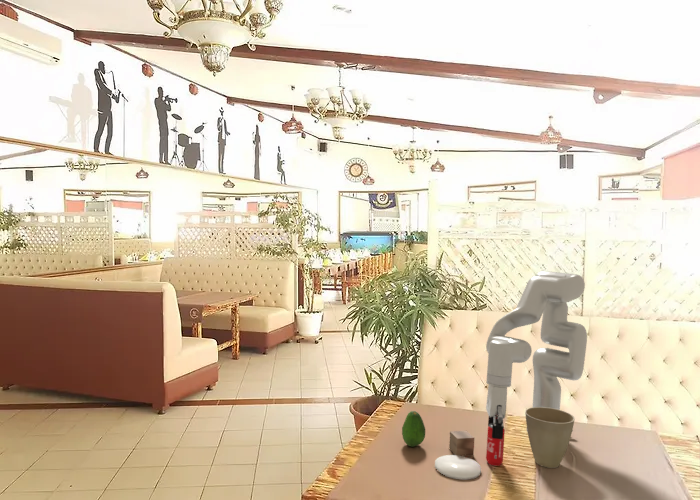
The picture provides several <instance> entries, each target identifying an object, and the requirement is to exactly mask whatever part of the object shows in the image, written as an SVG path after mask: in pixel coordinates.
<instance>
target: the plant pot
mask: <svg viewBox="0 0 700 500" xmlns="http://www.w3.org/2000/svg"><path fill="white" fill-rule="evenodd" d="M532 407H533V406H532ZM532 407H529V408H526V409H525V411H524V413H525V414H524V415H525V423H526V432H527V431H528V432H527V435H528V440H529V445H530V449H531V453H532V455H533V459H534V461H535V463H536V465H539V466H541V467H544V468H547V469H555V468H559V466H560V465H561V464H562V461H563V459H564V457H565V454H566V451H567V449H568V446H569V444H570V440H571V437H572V434H573V431H574V430H573V429H574V424H575V419H576V418H575V416H574V415H573V414H571V413H569V412H567V411H565V410H561V409H560V410H558V409H554V408H547V407H533V408H532ZM572 430H573V431H572Z"/></svg>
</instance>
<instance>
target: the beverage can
mask: <svg viewBox="0 0 700 500" xmlns="http://www.w3.org/2000/svg"><path fill="white" fill-rule="evenodd" d="M493 425H494V423H492V424H489V427H488V426H487V437H486V453H485V454H486V455H485V459H486V462H487V464H489V465H490V466H495V467H500V466H501V465H502V463H503V462H504V448H505V430H506V429H505V427H504V425H503V439H494V438H492V427H493Z"/></svg>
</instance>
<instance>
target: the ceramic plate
mask: <svg viewBox="0 0 700 500" xmlns="http://www.w3.org/2000/svg"><path fill="white" fill-rule="evenodd" d="M434 468H436V469H437V470H438V471H439V472H440V473H441V474H440V473H439V472H438V471H437V470H436V469H435V470H436V471H437V472H438V473H439V474H440V475H442V474H443V475H442V476H444V475H445V476H444V477H447V478H450V479H454V480H462V481H463V480H464V481H465V480H473V479H476V478H478V477H480V476H481V473H482V467H481V465H480V464H479V462H477V461H476V460H475V459H472V458H470V457H468V456H458V455H455V454H447V455H441V456H439V457H437V458H436V459H435V460H434Z"/></svg>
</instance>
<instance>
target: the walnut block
mask: <svg viewBox="0 0 700 500" xmlns="http://www.w3.org/2000/svg"><path fill="white" fill-rule="evenodd" d="M448 445H449V448H450V449H451V450H452V451H451V450H450V449H449V448H448V449H449V450H450V451H451V452H452V454H453V455H458V456H463V457H468V456H474V449H475V437H474V436H473V435H472V434H471V433H470V432H469V431H467V430H454V431H453V430H451V431H449V444H448Z"/></svg>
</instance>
